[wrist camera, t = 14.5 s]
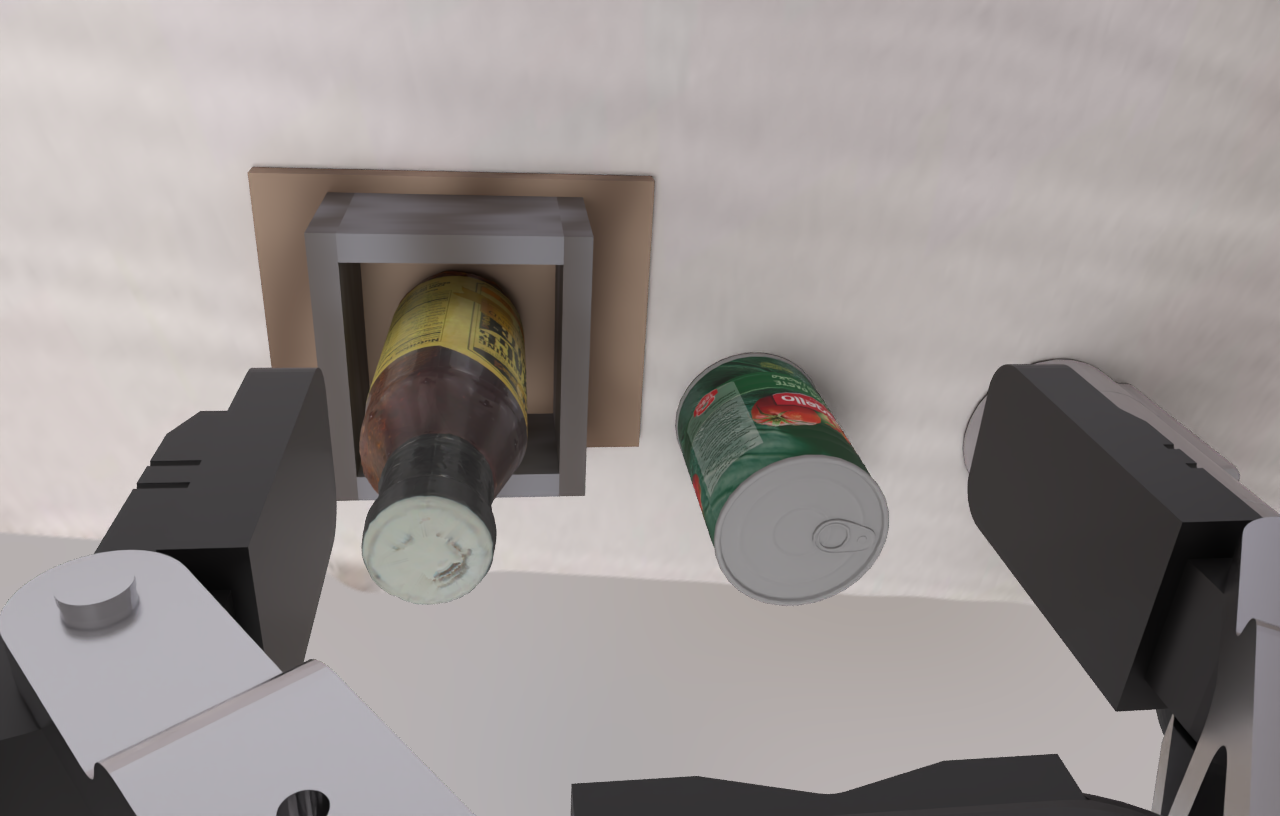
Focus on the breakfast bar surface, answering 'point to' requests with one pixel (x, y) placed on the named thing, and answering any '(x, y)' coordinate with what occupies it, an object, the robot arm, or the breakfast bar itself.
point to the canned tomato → (778, 482)
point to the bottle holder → (474, 244)
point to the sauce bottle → (442, 436)
